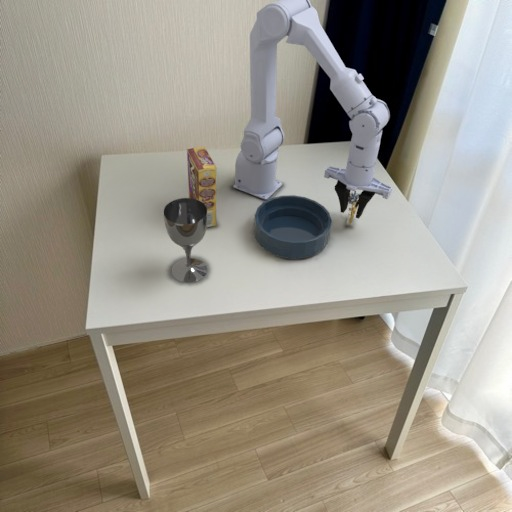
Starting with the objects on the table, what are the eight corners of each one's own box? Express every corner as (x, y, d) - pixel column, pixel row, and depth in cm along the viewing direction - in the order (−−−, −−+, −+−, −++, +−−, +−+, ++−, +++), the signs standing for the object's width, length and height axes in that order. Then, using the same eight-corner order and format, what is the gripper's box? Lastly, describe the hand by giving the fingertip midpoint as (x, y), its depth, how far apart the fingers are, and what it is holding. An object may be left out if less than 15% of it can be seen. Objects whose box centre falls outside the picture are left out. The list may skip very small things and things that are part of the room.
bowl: (240, 242, 112) (240, 224, 108) (277, 204, 122) (278, 187, 119) (307, 271, 106) (310, 252, 102) (340, 229, 116) (343, 211, 113)
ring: (353, 233, 115) (359, 204, 109) (339, 230, 115) (344, 200, 110) (359, 215, 120) (365, 186, 114) (346, 212, 120) (351, 183, 115)
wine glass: (170, 257, 107) (164, 198, 97) (209, 256, 108) (207, 197, 98) (168, 285, 102) (162, 224, 91) (209, 283, 102) (207, 224, 92)
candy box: (218, 226, 116) (217, 167, 105) (199, 229, 114) (196, 170, 104) (207, 203, 122) (205, 145, 111) (189, 206, 121) (185, 148, 110)
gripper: (321, 158, 107) (313, 211, 116) (388, 180, 102) (375, 234, 111) (335, 143, 111) (327, 195, 120) (400, 164, 106) (386, 217, 115)
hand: (351, 213), depth 116 cm, fingers closed on ring, 3 cm apart
